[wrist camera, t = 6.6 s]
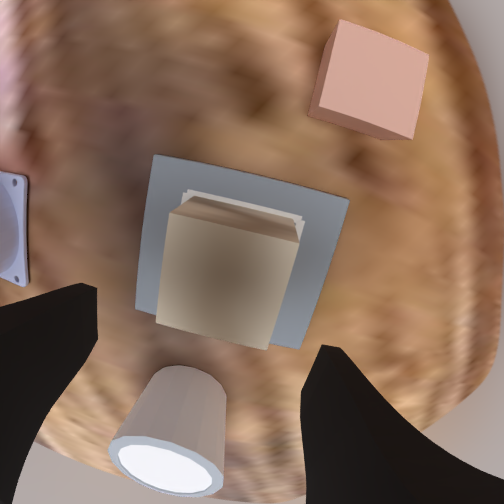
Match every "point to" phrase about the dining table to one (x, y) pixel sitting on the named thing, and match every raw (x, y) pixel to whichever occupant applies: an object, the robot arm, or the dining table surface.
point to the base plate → (255, 197)
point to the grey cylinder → (175, 434)
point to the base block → (225, 271)
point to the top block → (369, 83)
